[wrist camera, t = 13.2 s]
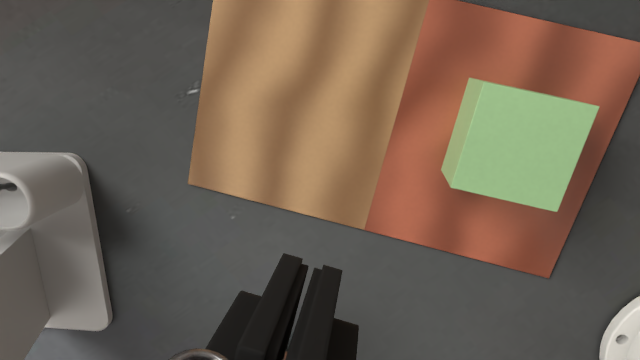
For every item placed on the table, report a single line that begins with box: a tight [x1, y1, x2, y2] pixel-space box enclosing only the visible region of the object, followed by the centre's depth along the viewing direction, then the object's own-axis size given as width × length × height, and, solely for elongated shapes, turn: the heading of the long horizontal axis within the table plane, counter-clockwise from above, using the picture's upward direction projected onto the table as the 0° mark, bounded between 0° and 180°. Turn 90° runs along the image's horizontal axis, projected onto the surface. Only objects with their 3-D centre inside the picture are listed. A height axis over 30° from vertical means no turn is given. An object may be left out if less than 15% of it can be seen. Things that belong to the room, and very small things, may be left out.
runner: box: [188, 0, 640, 278], centre depth 32 cm, size 30×18×1 cm, turn 77°
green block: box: [441, 78, 599, 212], centre depth 29 cm, size 7×7×4 cm
